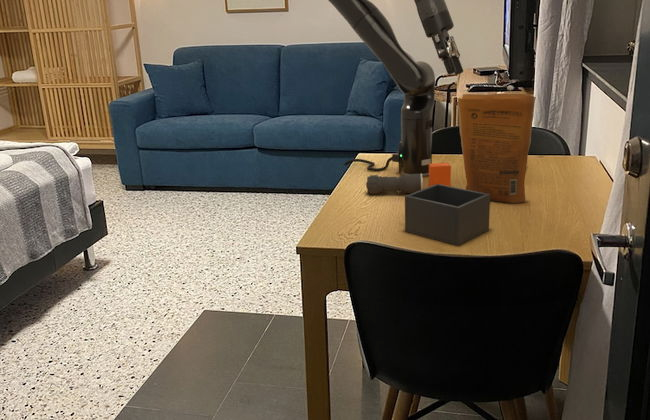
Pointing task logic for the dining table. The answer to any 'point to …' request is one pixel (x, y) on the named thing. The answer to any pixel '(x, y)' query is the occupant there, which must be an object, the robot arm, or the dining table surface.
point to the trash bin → (447, 213)
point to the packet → (440, 174)
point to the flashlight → (394, 184)
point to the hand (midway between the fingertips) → (456, 73)
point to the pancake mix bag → (496, 143)
